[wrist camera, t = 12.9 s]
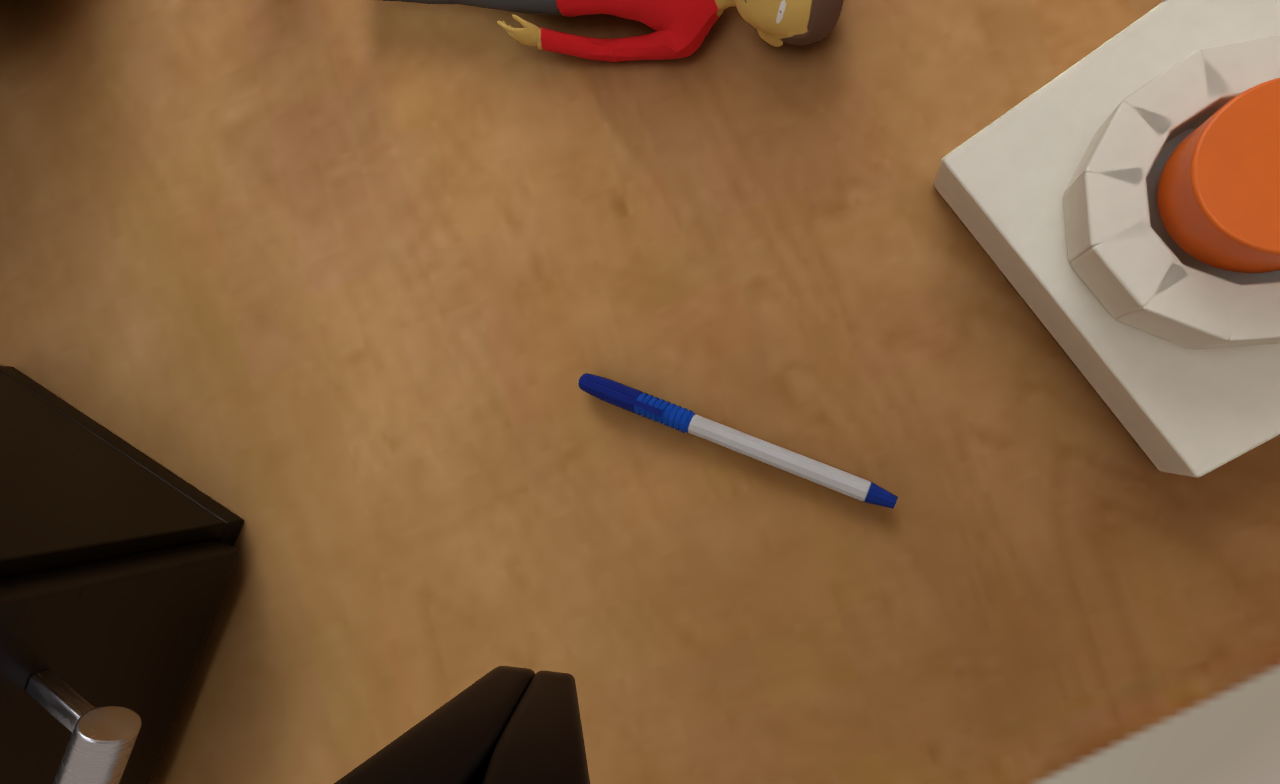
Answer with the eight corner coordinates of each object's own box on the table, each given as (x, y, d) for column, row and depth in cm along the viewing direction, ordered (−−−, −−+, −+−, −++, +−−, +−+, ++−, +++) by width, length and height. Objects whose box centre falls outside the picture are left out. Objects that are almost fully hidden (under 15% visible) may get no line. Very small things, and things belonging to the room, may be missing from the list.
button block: (1482, 295, 16) (1671, 258, 13) (1159, 472, 18) (1239, 486, 14) (1197, -1, 18) (1286, -112, 15) (931, 185, 20) (949, 130, 16)
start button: (1401, 204, 14) (1474, 175, 12) (1228, 307, 15) (1275, 292, 13) (1278, 76, 15) (1331, 32, 13) (1119, 180, 16) (1150, 152, 14)
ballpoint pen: (579, 395, 23) (567, 395, 22) (587, 371, 23) (576, 369, 22) (891, 510, 20) (893, 514, 19) (901, 481, 20) (904, 485, 19)
